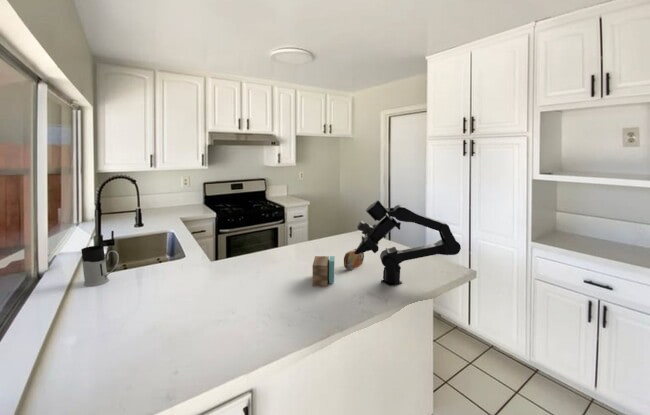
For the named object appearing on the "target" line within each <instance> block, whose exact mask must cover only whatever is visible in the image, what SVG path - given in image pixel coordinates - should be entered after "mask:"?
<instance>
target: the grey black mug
mask: <svg viewBox="0 0 650 415" xmlns="http://www.w3.org/2000/svg"><path fill="white" fill-rule="evenodd" d="M80 251H81V261H82V269H83V277H84V283H83V286H84V287H86V288H91V287H99V286H102V285H105V284H108V283H109V281H110V280H109V277H108V275H110V274H111V273H112V272H113V271H115V269H116V268H117V267H118V264H119V261H120V260H119V257H120V256H119V253H118V252H117V251H116V250H110V251H108V252H107V253H106V256H105V247H104V245H90V246H87V247H86V246H85V247H83V248H81V249H80ZM111 252H112V253H115V254H116V264H115V265H114V267H113V269H111V270H110V271H109V272H108V270H107V261H108V260H109V254H110V253H111Z"/></svg>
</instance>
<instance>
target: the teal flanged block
mask: <svg viewBox="0 0 650 415" xmlns="http://www.w3.org/2000/svg"><path fill="white" fill-rule="evenodd" d="M328 283H329V284H335V255H330V256H329V280H328Z"/></svg>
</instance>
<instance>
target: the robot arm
mask: <svg viewBox="0 0 650 415" xmlns="http://www.w3.org/2000/svg"><path fill="white" fill-rule="evenodd" d="M365 212H366V214H368V215H369V216H370V218H372V220H374V221H378V223H377V224H373V225H371V224H369V223H367V222H366V221H363V220H359V222H358V225H357V226H356V227H357V230H359V231H361V233H362V234H363V235H361V240H360V242H359V245H358V246H357V247H356V248H355V249H356V250H355V252H354V253H355V254H356V255H357V254H360V253H363V252H364V253H365V252H369V251H372V253H373V254H376V253H378V251H379V243H380V241H381V240H382V239H385V238H386V237H387V235H388V234H389V233H390V232H391V231H392V230H393V229H395V228H396V229H398V230H401V224H402V223H401V222H404V223H415V224H417V225H418V226H422V227H425V228H428V229H432V230H433V231H438V232H439V237H440V238H441V239H439V240H438V241H436V242H435V243H431V244H425V245H421V246H416V247H411V248H406V249H400V250H399V249H397V247H396V246H393V247H390V248H387V247H386V248H385V249H384V250H382V251H381V253H380V254H379V259H380V262H381V264H382V266H383V274H382V275H383V276H382V279H381V280H380V282H381V283H383V284H386V285H388V286H391V287H395V286H398V285H400V284H403V281H401V279H400V278H401V269H402V267H401V265H400V264H401V263H403V262H405V261H410V260H415V259H420V258H426V257H430V256H436V255H443V256H456V255H458V254H459V253H460V252H461V250H462V249H461V247H462V246H461V244H460V242H458V241H457V239H456V238H455V236H454V234H453V232H452V231H451V228H450V226H449V224H447V223H446V222H443V221H439V220H436V219H433V218H431V217H427V216H425V215H422V214H419V213H416V212H415V211H413V210H411V209H409V208H407V207H406V206H404V205H402V204H397V205H395V206H394V207H388V208H386V207H385V206H384V205H383V204H382V203H381V201H380V200H376V201H375V202H373V203H372V204H370V205H369V206H368V207H367V208H366V209H365Z"/></svg>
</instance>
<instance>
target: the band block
mask: <svg viewBox="0 0 650 415" xmlns="http://www.w3.org/2000/svg"><path fill="white" fill-rule="evenodd" d="M329 259H330V256H327V255H326V256H325V255H324V256H323V255H319V256H318V255H315V256H314V258H313V262H312V287H325V288H326V287H328V283H329Z"/></svg>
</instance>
